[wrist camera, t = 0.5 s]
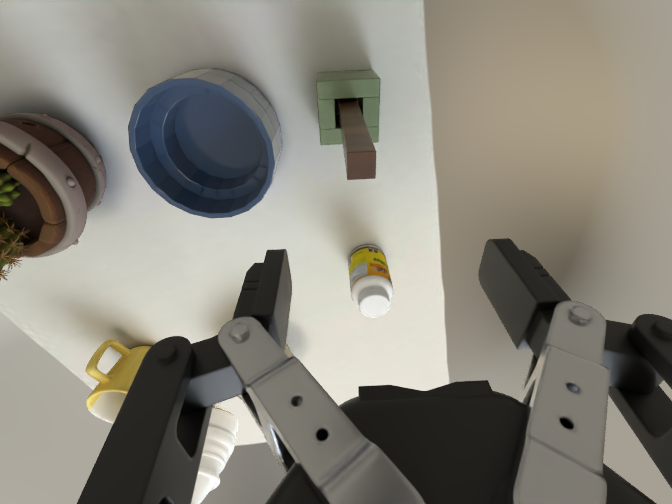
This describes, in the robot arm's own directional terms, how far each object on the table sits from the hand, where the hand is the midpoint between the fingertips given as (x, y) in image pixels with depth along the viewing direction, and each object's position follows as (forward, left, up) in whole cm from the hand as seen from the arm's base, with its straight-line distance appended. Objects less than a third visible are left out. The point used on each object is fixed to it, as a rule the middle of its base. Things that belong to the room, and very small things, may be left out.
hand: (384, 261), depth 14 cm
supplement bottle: (+21, +2, -30) cm, 37 cm away
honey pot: (+65, -33, -29) cm, 79 cm away
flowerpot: (+4, -35, -30) cm, 46 cm away
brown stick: (-1, 0, -29) cm, 29 cm away
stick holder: (-1, 0, -29) cm, 29 cm away
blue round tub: (+2, -15, -29) cm, 33 cm away
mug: (+39, -38, -30) cm, 62 cm away
